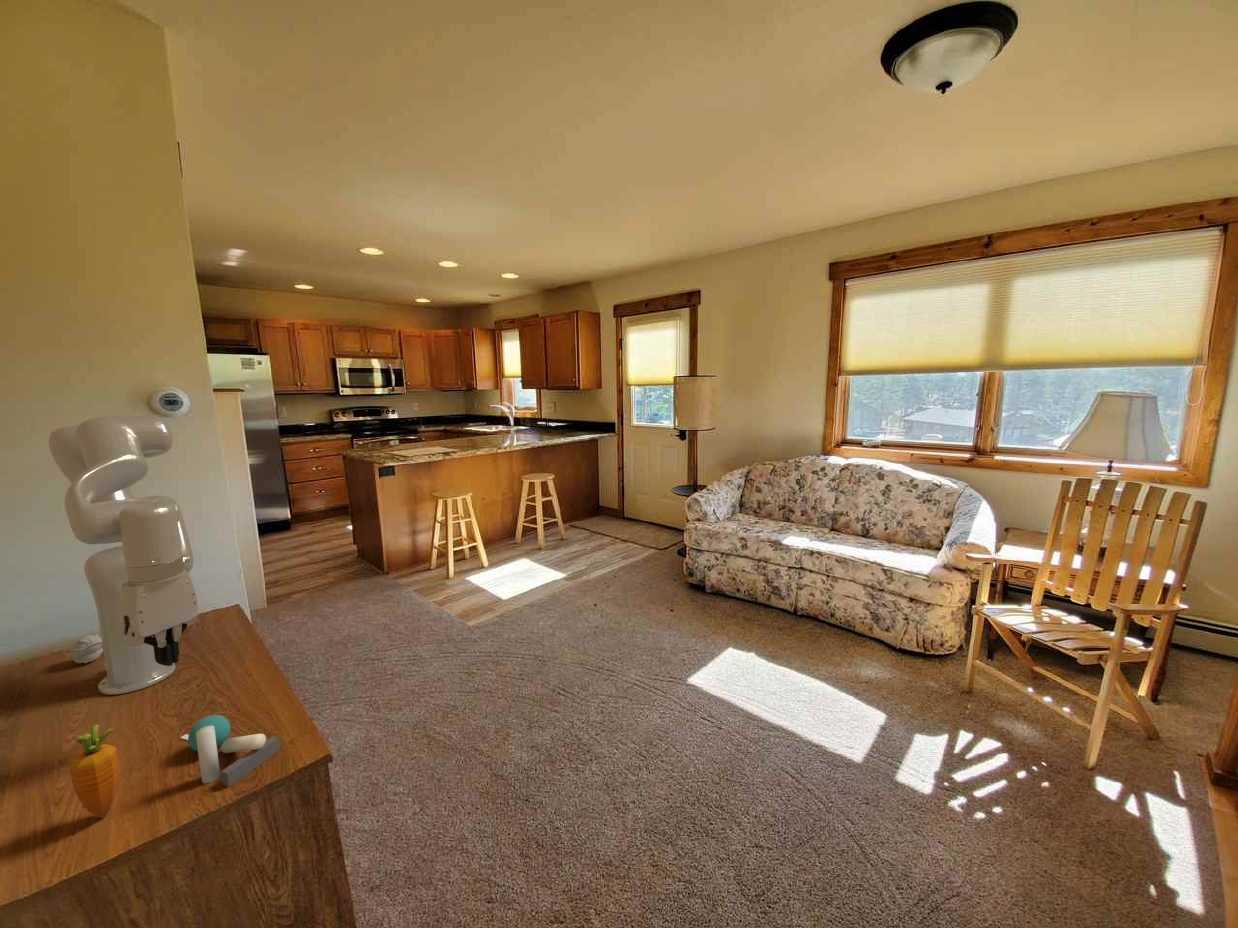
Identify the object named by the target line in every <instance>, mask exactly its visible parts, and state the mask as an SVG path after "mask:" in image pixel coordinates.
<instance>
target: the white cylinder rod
mask: <svg viewBox="0 0 1238 928" xmlns="http://www.w3.org/2000/svg"><path fill="white" fill-rule="evenodd" d="M196 739H197V747H198V751H197V755H198V760H199V761H198V762H199V770H200V776H201V777H200V778H201V783H202V784H210V783H213V782H214V781H216V780H217V779H219V778H220V776H221V771H220V763H219V754H218V747H217V745H216V737H215V729H214V726H206V727H203V728H201V729H199V730H198V731H197V732H196Z"/></svg>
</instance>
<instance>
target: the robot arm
mask: <svg viewBox="0 0 1238 928" xmlns="http://www.w3.org/2000/svg"><path fill="white" fill-rule="evenodd" d="M48 436H49V437H48V446H49V449H50V453H51V455H52V459H53V460H54V462H55V464H56V466H57V467H58V468H59V470H60V471H61V472H62V474H63V475H64V476H65V477H66V479H68V481H69V482H70V485H69V487H68V489H67V490H66V493H65V497H64V507H65V508H64V509H65V511H66V516H67V519H68V522H69V525H70V529H71V531H72V533H73V535H74V537H75V538H76V539H77V540H78V541H79V542H81V543H83V544H86V545H99V544H101V545H106V544H114V543H121V544H122V545H120V546H115V547H114V546H113V547H110V548H106V549H103V550H100V551H98V552H95V553H93V554H92V555H90V556H88V558H87V559H86V560H85V562H84V567H83V569H84V570H83V571H84V575H85V577H86V580H87V584H88V586H89V589H90V590H91V593H92V597H93V599H94V603H95V607H96V614H97V620H98V626H99V631H100V637H101V639H102V646H103V652H102V653H103V657H104V663H103V667H104V668H105V671H106V677H104V678H103V679H102V680H100V681H99V683H98V685H97V687H98V688H97V689H98V692H99V693H100V694H104V695H110V696H111V695H122V694H126V693H131V692H135V691H138V690H141V689H145V688H148V687H150V686H153V685H155V684H157V683H160V682H161V681H164V680H165V679H166V678H168V677H170V675H172V674H173V673H174V672H175V670H176V663H179V660H180V659H179V656H180V646H179V641H180V640H181V639H182V635H183V633H184V632H185V631H186V629H187V628H188V627H190V626H192V625H193V624H196V622H198V620H199V617H198V614H199V604H198V603H199V602H198V597H197V593H196V589H195V586H194V583H193V579H192V578H191V575H190V573H191V571H192V570H193V567H194V561H195V560H194V554H193V549H192V546H191V542H190V539H189V535H188V531H187V528H186V524H185V520H184V516H183V513H182V510H181V507H180V506H179V503H177V501H176V500H175V499H174V498H172V497H170V496H168V495H151V496H142V497H134V496H133V494H132V489H131V486H134V485H135V484H137V483H139V482H140V481H141V480H143V479H144V478H145V476H147V475H148V472H149V468H150V467H149V463H148V461H147V458H148V459H149V458H156V457H158V456H160V455H161V456H162V455H164V454H166V453H168V452H169V451H170V450H171V448H172V446H173V441H174V438H173V433H172V429H171V428H170V426H169V423H167V422H166V421H165V420H164V419H162V418H161V417H159V416H156V415H123V416H121V415H119V416H118V415H116V416H112V415H111V416H110V415H109V416H97V417H92V418H90V419H89V418H88V419H86V420H84V421H82V422H81V423H80V424H72V425H71V424H70V425H66V426H61V427H59V428H56V429H54V430H52V432H50V434H49V435H48Z"/></svg>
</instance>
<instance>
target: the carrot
mask: <svg viewBox="0 0 1238 928" xmlns="http://www.w3.org/2000/svg"><path fill="white" fill-rule="evenodd" d="M90 732H91V733H85V734H84V735H80V736H78V737H77V738H76V740H75V742H77V743H79V744H80V745H81V746H82V749H83V751H81V752H80V753H78V754H77V755H76V757H75V758H74V759H73V760H72V761H71V763H70V764H69V773H70V774H69V775H70V777H71V782H72V785H73V789H74V792H75V794H76V796H77V799H78V800H79V802H80V803H81V805H82V807H83V808H84V809H86V811H87V812H89V813H91V815H93V816H95V817H96V818H99V819H103V818H105V817H106V816H107V815H108V813H109V811H110V809H111V807H112V805H113V803H114V801H115V799H116V795H117V792H118V788H119V787H118V785H119V781H120V780H119V779H120V777H119V776H120V767H119V766H120V764H119V755H118V749H117V747H116V746H114V745H110V744H108V743H107V744H106V743H104V744H102V743H103V740H105V739H106V737H107V736H108V735H109V734H111V733H112V732H114V729H113V728H109V729H106V730H105V731H104V732H103V733H102V734H100V736H99V738H98V735H99V734H98V733H99V724H95V725H93V726H92V727H91V731H90Z"/></svg>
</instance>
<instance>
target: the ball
mask: <svg viewBox="0 0 1238 928" xmlns="http://www.w3.org/2000/svg"><path fill="white" fill-rule="evenodd" d="M206 726H214V729H215V737H216V745H217V748H219V747H220V746H222V743H223V742H224V741H225V740H226V739H228V738H229V735H230V732H231V723H230V721H229V720H228V718H227V717H225V716H224V715H219V714H212V715H207V716H205V717H203V718H202V719H199V720H198V721H197V722H196V723H195V724H194V725H193V726H192V728H191V729H190V731H189V734H188V735H189V736H188V741H187V742H188V745H189V746H190V748H191V750H193V751H196V752H198V747H197V739H196V732H197V731H198V730H199V729H201V728H203V727H206Z"/></svg>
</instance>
